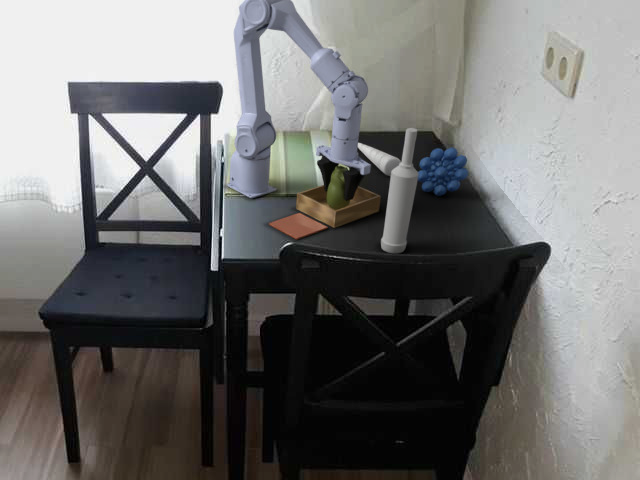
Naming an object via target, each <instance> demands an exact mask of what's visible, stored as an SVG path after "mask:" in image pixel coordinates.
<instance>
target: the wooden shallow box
mask: <svg viewBox="0 0 640 480" xmlns="http://www.w3.org/2000/svg"><path fill="white" fill-rule="evenodd" d="M381 197H382V196H381V195H379V194H377V193H376V192H373V191H370V190H368V189H366V188H364V187H361V186H358V188H357V190H356V192H355V195H354V197H353V199H352V200H350V203H349V205H348V206H347V207H344V208H341V209H338V210H334V209H332V208H331V207H329V205H328V203H327V192H326V191H325V189H324V184H322V185H319V186H315V187H312V188H309V189H306V190H303V191H300V192H297V193H296V201H295V202H296V203H295V204H296V205H295V209H296V210H298V212H299V211H300V212H301V213H302V214H306V215H308V217H310V218H313V219H314V220H317V221H318V222H319V221H320V222H321V223H322V224H326V225H328V226H329V227H332V228H334V229H335V228H337V227H341V226H344V225H346V224H348V223H352V222H354V221H357V220H359V219H362V218H365V217H368V216H370V215H373V214H376V213H379V212H380V205H381Z"/></svg>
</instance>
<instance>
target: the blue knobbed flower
mask: <svg viewBox="0 0 640 480" xmlns="http://www.w3.org/2000/svg"><path fill="white" fill-rule="evenodd" d="M458 153H459V152H458V149H457V148H455V147H449V148H446V150H443V149H442V148H439V147H438V148H437V147H436V148H435V149H432V151H431V152H430V155H429V157H428V156H426V157H423V158H421V160H420V161H419V164H418V165H419V168H420V169H421V170H419V171H417V172H418V174H419V175H418V180H417V182H420V183H422V185H421V189H422V191H423V192H424V193H430V192H432V191H433V194H434V195H435V196H437V197H441V196H444V195H445V194H446V193H447V191H449V192H451V193H452V192H455V191H457V190H459V188H460V186H461V182H460V181H463V180H466V179H467V178H468V176H469V170H468V168H466V165H467V164H468V158H467V157H466V155H463V154H460V155H458Z"/></svg>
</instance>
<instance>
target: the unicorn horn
mask: <svg viewBox="0 0 640 480" xmlns="http://www.w3.org/2000/svg"><path fill="white" fill-rule="evenodd" d="M357 149H359V151H361V153H362V154H364V155H363V156H365V157H366V158H367V159H368V160H369V161H370V162H372V164H373V165H375V166H376V168H378V170H380V171H381V172H382V173H383V174H384V175H385V176H387V177H391V171H392V170H393V169H394V168H396V167H397V166H399V163H401V162H402V160H400V159H399V158H398V157H396V156H394V155H392V154H389V153H386V152H384V151H383V150H379V149H377V148H375V147H372V146H370V145H367V144H364V143H362V142H358V147H357Z"/></svg>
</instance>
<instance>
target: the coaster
mask: <svg viewBox="0 0 640 480" xmlns="http://www.w3.org/2000/svg"><path fill="white" fill-rule="evenodd" d="M268 226H270V227H272V228H274V229H276V230H278V231H280V232H281V233H283V234H285V235H287V236H288V237H291V238H293V239H294V240H296V241H297V240H301V239H303V238H306V237H308V236H311V235H315V234H317V233H319V232H322V231H326V230H328V226H326V225H324V223H322V222H321V223H320V222H319V221H318V220H317V221H316V219H314V218H313V219H312V217H310V216H306V215H304V213H302V212H301V213H300V212H298V213H294V214H291V215H289V216H286V217H283V218H280V219H277V220H274V221H271V222H268Z"/></svg>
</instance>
